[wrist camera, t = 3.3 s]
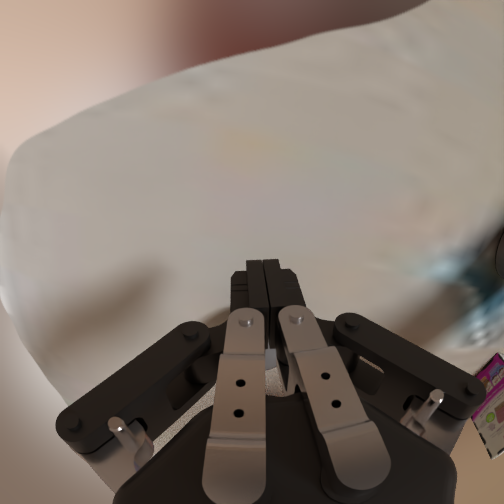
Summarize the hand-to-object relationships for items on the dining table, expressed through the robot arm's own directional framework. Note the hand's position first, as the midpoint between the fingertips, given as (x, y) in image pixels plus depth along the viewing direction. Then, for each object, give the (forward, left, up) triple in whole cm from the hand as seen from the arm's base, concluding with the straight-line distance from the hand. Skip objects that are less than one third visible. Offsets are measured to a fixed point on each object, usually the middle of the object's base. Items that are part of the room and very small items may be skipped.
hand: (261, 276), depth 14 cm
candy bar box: (-41, +31, -9) cm, 52 cm away
